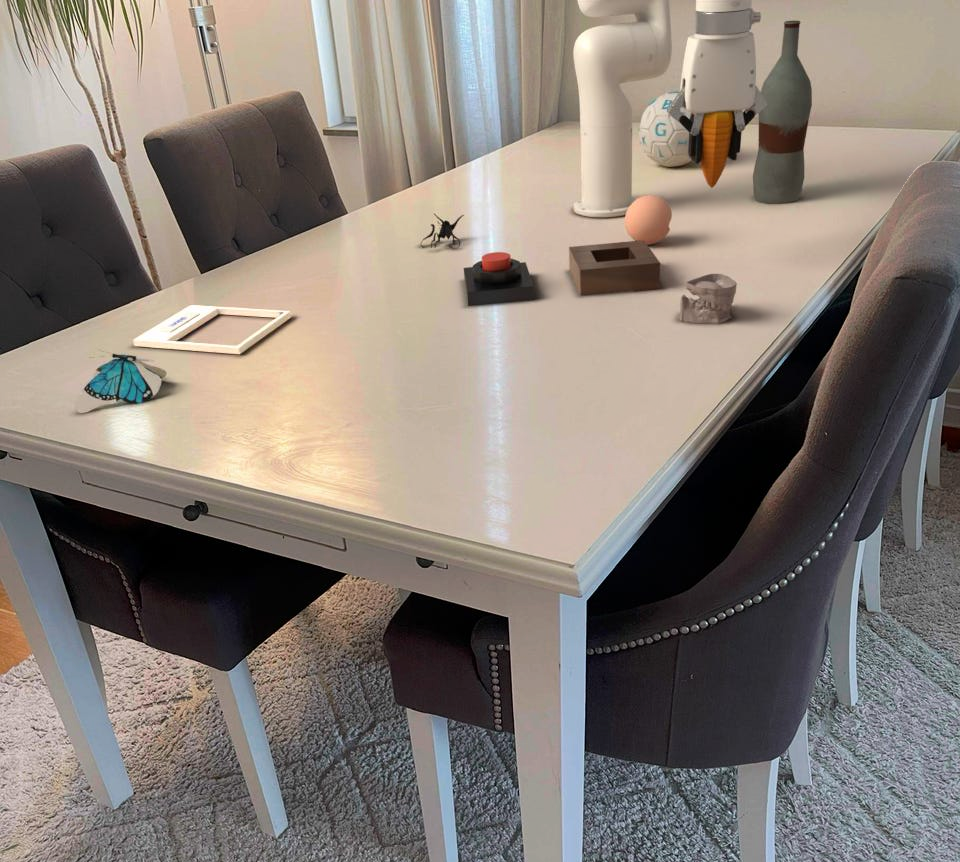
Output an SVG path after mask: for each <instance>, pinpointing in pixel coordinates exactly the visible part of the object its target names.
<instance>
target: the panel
mask: <svg viewBox="0 0 960 862" xmlns="http://www.w3.org/2000/svg"><path fill="white" fill-rule="evenodd" d="M520 261H521V260H518V259H515V258H511V267H510V268H507V269H504V270H495V271H491V270H484V269H482V260H480V261H477V262H476V263H474V264H473V265H472V266H467V267H463V279H464V287H465V293H466V294H465V295H466V300H467V301H466V302H467V306H468V307H474V306H484V305H485V306H486V305H495V304H506V303H507V304H508V303H517V302H529V301H535V289H534V288H535V286H534V283H533V280H532V277H531V274H530V271H529V267H528V265H527V262H526V261H525V262H520Z"/></svg>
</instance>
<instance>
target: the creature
mask: <svg viewBox="0 0 960 862" xmlns="http://www.w3.org/2000/svg"><path fill="white" fill-rule="evenodd" d="M433 215H434V216H435V217H436V219H438V220H439V221H440V222H441V223H440V222H439V221H438V220H436V222H437V224H438V225H440V226H439V228H438V229H439V232H435V229H436V227H435V224H433V223H431V224H430V226H431V227H432V229H431V232H430V233H429V234H428V235H427V236H425V237H424V238H423V239H422V240H421V241H420V247H422V248H426V247H430V248H431V249H432V248H433V244H434V248H437V247H436V246H437V243H440V242H441V238H442V239H446V238H447V240H449V239H450V238H452V245H454V244H456V243H455V240H457V242H458V246H457V247H455V248H454V247H452V245H447V247H450V249H452V250H456V249H458V248H459V247H460V246H461V241H460V239H459V237H457V236H456V235H455V234H454V232H453V231H454V230H455V228H456V227H457V225H458V222H459V221H460V219H462V218H463V217H464V216H465V214H461V215H460V216H459V217H458V218H457V219H456V220H455V221H454V223H452V224H451V223H450V221H448V220H443V219H441V218H440V217H439V216H438V215H437V214H436V213H433ZM431 237H433V239H432V240H431V244H429V245H425V246H424V245H422V243H423V241H424V240H427V239H428V238H429V239H430V238H431ZM436 237H437V240H436Z"/></svg>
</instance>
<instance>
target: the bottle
mask: <svg viewBox="0 0 960 862" xmlns="http://www.w3.org/2000/svg"><path fill="white" fill-rule="evenodd" d="M783 25H784V26H783V35H782V45H781V52H780V53H781V55H780V57H779V58H778V59H777V61H776V63H775V64H774V66H773V68H772V69H771V71H770V72H769V73H768V75H767V77H766V78H765V80H764V81H763V83H762V87H761V89H760V93H761V94H762V96H763V97H764V99H765V100H766V102H767V106H766V107H765V108H764V109H763V110H762V111H760V112H759V113H758V150H757V154H756V159H755V162H754V168H753V173H752V191H753V197H754V200H755V201H756V202H759V203H764V204H771V205H772V204H773V205H776V204H777V205H780V204H788V203H793V202H796V201H798V200H799V198H800V196H801V193H802V191H803V186H804V182H805V151H804V150H805V144H806V138H807V132H808V126H809V120H810V115H811V110H812V107H813V89H812V83H811V79H810V77H809V76H808V74H807V71H806V70H805V68H804V65H803V63H802V62H801V59H800V58H799V55H798V53H799V52H798V51H799V38H800V25H801V21H800V20H797V19H796V20H785V21H784V22H783Z"/></svg>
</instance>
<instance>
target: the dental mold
mask: <svg viewBox="0 0 960 862" xmlns="http://www.w3.org/2000/svg"><path fill="white" fill-rule="evenodd" d="M737 284H738V283H737V282H736V281H735V280H734V279H732V278H731V277H730V276H729V275H725V274H724V273H708V274H705V275H701V276H698V277H696V278H693V279H690V280H688V281H685V289H686V290H687V291H688V292H690V294H691V295H693V296H697V297H698V298H697V299H694V298H692V297H687V296H686V294H682V295H681V296H680V305H679V321H680V322H685V323H691V324H703V325H704V324H716V325H717V324H718V325H719V324H722V323H726V322H727V321H728V320H729V319H732V315H731V314H730V312H731V308H732V304H733V303H734V300H735V295H736V294H737Z"/></svg>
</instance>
